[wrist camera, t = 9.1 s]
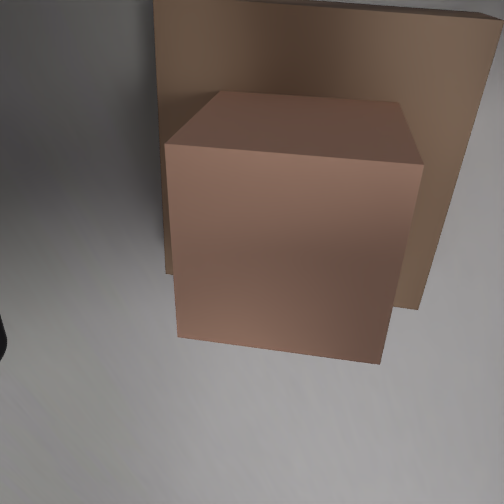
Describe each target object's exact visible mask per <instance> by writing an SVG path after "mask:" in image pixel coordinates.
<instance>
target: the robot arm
mask: <svg viewBox="0 0 504 504" xmlns="http://www.w3.org/2000/svg"><path fill="white" fill-rule="evenodd" d="M6 347H7V337H6V333H5V330H4V326H3V323H2V319H1V316H0V361H1V359H2V357H3V355H4V353H5V351H6Z"/></svg>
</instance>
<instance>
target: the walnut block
mask: <svg viewBox="0 0 504 504" xmlns="http://www.w3.org/2000/svg"><path fill="white" fill-rule="evenodd" d="M153 13H154V34H155V56H156V77H157V99H158V120H159V141H160V163H161V184H162V206H163V227H164V248H165V270H166V274H170V275H173V262H172V248H171V233H170V219H169V204H168V190H167V175H166V161H165V146H164V144H165V143H166V142H167V141H168V140H169V139H170V138H171V137H172V136H173V135H174V134H175V133H176V132H177V131H178V130H179V129H180V128H182V127H183V126H184V125H185V124H186V123H187V122H188V121H189V120H190V119H191V118H192V117H193V116H194V115H195V114H196V113H197V112H198V111H200V110H201V109H202V108H203V107H204V106H205V105H206V104H207V103H208V102H209V101H210V100H211V99H212V98H213V97H214V96H215V95H217V94H218V93H219V92H220V91H234V92H249V93H265V94H280V95H295V96H310V97H326V98H341V99H356V100H371V101H387V102H399V104H400V107H401V109H402V112H403V114H404V116H405V119H406V121H407V124H408V126H409V129H410V131H411V134H412V136H413V138H414V141H415V143H416V146H417V148H418V151H419V153H420V156H421V158H422V161H423V163H424V169H423V173H422V178H421V182H420V187H419V191H418V196H417V200H416V205H415V209H414V214H413V218H412V223H411V227H410V232H409V236H408V241H407V245H406V250H405V254H404V259H403V263H402V268H401V272H400V277H399V281H398V286H397V290H396V295H395V299H394V304H393V307H400V308H407V309H414V310H418V308H419V305H420V302H421V298H422V295H423V292H424V288H425V285H426V282H427V278H428V275H429V272H430V268H431V265H432V262H433V258H434V255H435V252H436V248H437V245H438V242H439V238H440V235H441V232H442V228H443V225H444V222H445V218H446V215H447V212H448V208H449V205H450V201H451V198H452V195H453V191H454V188H455V185H456V181H457V178H458V175H459V171H460V168H461V165H462V161H463V158H464V155H465V151H466V148H467V145H468V141H469V138H470V135H471V131H472V128H473V125H474V121H475V118H476V115H477V111H478V108H479V105H480V101H481V98H482V95H483V91H484V88H485V85H486V81H487V78H488V74H489V71H490V68H491V64H492V61H493V58H494V54H495V51H496V48H497V44H498V41H499V38H500V34H501V31H502V28H503V24H504V20H501V19H498V18H495V17H492V16H489V15H486V14H483V13H478V12H464V11H451V10H437V9H423V8H410V7H396V6H382V5H368V4H355V3H341V2H327V1H313V0H153Z"/></svg>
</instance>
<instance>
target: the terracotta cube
mask: <svg viewBox="0 0 504 504" xmlns="http://www.w3.org/2000/svg"><path fill="white" fill-rule="evenodd" d="M164 146H165V161H166V175H167V190H168V204H169V219H170V233H171V248H172V262H173V277H174V291H175V306H176V320H177V335H178V337H181V338H188V339H195V340H203V341H210V342H217V343H225V344H232V345H239V346H247V347H254V348H261V349H269V350H276V351H283V352H290V353H298V354H305V355H312V356H320V357H327V358H334V359H342V360H349V361H356V362H364V363H371V364H378V365H380V362H381V358H382V353H383V349H384V344H385V340H386V335H387V331H388V326H389V322H390V317H391V313H392V308H393V304H394V299H395V295H396V290H397V286H398V281H399V277H400V272H401V268H402V263H403V259H404V254H405V250H406V245H407V241H408V236H409V232H410V227H411V223H412V218H413V214H414V209H415V205H416V200H417V196H418V191H419V187H420V182H421V178H422V173H423V169H424V163H423V161H422V158H421V156H420V153H419V151H418V148H417V146H416V143H415V141H414V138H413V136H412V134H411V131H410V129H409V126H408V124H407V121H406V119H405V116H404V114H403V112H402V109H401V107H400V104H399V102H387V101H371V100H356V99H341V98H326V97H310V96H295V95H280V94H265V93H249V92H234V91H220V92H219V93H218V94H217V95H215V96H214V97H213V98H212V99H211V100H210V101H209V102H208V103H207V104H206V105H205V106H204V107H203V108H202V109H201V110H200V111H198V112H197V113H196V114H195V115H194V116H193V117H192V118H191V119H190V120H189V121H188V122H187V123H186V124H185V125H184V126H183V127H182V128H180V129H179V130H178V131H177V132H176V133H175V134H174V135H173V136H172V137H171V138H170V139H169V140H168V141H167V142H166V143H165V144H164Z"/></svg>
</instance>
